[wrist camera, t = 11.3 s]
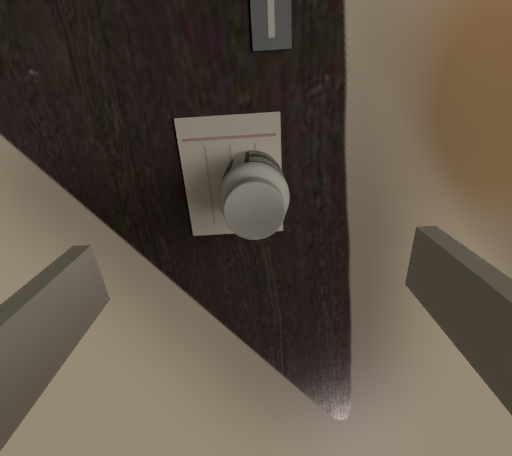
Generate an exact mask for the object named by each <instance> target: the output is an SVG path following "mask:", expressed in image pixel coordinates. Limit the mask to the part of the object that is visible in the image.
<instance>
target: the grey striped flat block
mask: <svg viewBox="0 0 512 456" xmlns="http://www.w3.org/2000/svg"><path fill="white" fill-rule="evenodd" d="M250 7H251V25H252V43H253V52H257V51H272V50H286V49H291V0H250Z"/></svg>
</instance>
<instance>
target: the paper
mask: <svg viewBox="0 0 512 456" xmlns="http://www.w3.org/2000/svg"><path fill="white" fill-rule="evenodd" d="M174 123H175V129H176V135H177V141H178V147H179V153H180V159H181V165H182V171H183V177H184V183H185V189H186V195H187V201H188V207H189V213H190V219H191V225H192V231H193V236H197V235H215V234H233V233H234V232H233V231H232V230H231V229H230V228H229V227H228V225H227V223H226V221H225V219H224V216H223V214H222V212H221V210H220V208H219V204H218V190H219V186H220V183H221V180H222V178H223V175H224V173H225V170H226V168H227V166H228V164H229V163H230V161H231V160H232V159H233V158H234V157H236V156H237V155H238V154H240V153H242V152H245V151H250V150H258V151H262V152H265V153H267V154H269V155H270V156H272V157H273V158H274V159H275V160H276V162H277V163H278V165H279V166H280V169H281V127H280V112H266V113H251V114H235V115H220V116H204V117H189V118H174ZM281 171H282V170H281ZM277 231H283V223H282V224H281V226H280V228H279V229H278V230H277Z"/></svg>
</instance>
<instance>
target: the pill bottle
mask: <svg viewBox="0 0 512 456" xmlns="http://www.w3.org/2000/svg"><path fill="white" fill-rule="evenodd" d="M218 204H219V208H220V210H221V212H222V214H223V216H224V219H225V221H226V223H227V225H228V227H229V228H230V229H231V230H232V231H233V232H234V233H235V234H237V235H238V236H240V237H242V238H245V239H250V240H259V239H263V238H266V237H269V236H270V235H272V234H273V233H275V232H276V231H277V230H278V229H279V228H280V226H281V224H282V223H283V220H284V217H285V213H286V211H287V209H288V205H289V189H288V185H287V182H286V180H285V178H284V176H283V174H282V171H281V169H280V166H279V165H278V163H277V162H276V160H275V159H274V158H273V157H272V156H270V155H269V154H267V153H265V152H262V151H258V150H250V151H245V152H242V153H240V154H238V155H237V156H236V157H234V158H233V159H232V160H231V161H230V163H229V164H228V166H227V168H226V170H225V173H224V175H223V178H222V180H221V183H220V186H219V190H218Z"/></svg>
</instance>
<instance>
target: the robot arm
mask: <svg viewBox="0 0 512 456" xmlns="http://www.w3.org/2000/svg"><path fill="white" fill-rule="evenodd" d="M405 284H406V286H407V287H408V288H409V289H410V291H411V292H412V293H413V294H414V295H415V297H416V298H417V299H418V300H419V302H420V303H421V304H422V305H423V307H424V308H425V309H426V310H427V311H428V313H429V314H430V315H431V316H432V317H433V319H434V320H435V321H436V323H437V324H438V325H439V326H440V327H441V329H442V330H443V331H444V332H445V334H446V335H447V336H448V337H449V338H450V340H451V341H452V342H453V343H454V345H455V346H456V347H457V348H458V350H459V351H460V352H461V353H462V354H463V356H464V357H465V358H466V359H467V361H468V362H469V363H470V364H471V366H472V367H473V368H474V369H475V370H476V372H477V373H478V374H479V375H480V376H481V378H482V379H483V380H484V382H485V383H486V384H487V385H488V386H489V388H490V389H491V390H492V391H493V393H494V394H495V395H496V396H497V397H498V399H499V400H500V401H501V402H502V404H503V405H504V406H505V407H506V409H507V410H508V411H509V412H510V414H511V415H512V279H511V278H509V277H508V276H506V275H505V274H503V273H502V272H501V271H499V270H498V269H496V268H495V267H493V266H492V265H491V264H489V263H488V262H486V261H485V260H484V259H482V258H481V257H479V256H478V255H477V254H475V253H474V252H472V251H471V250H469V249H468V248H467V247H465V246H464V245H462V244H461V243H459V242H458V241H457V240H455V239H454V238H452V237H451V236H449V235H448V234H447V233H445V232H444V231H442V230H441V229H439V228H438V227H437V226H424V227H416V231H415V237H414V242H413V247H412V252H411V257H410V262H409V267H408V273H407V278H406V283H405ZM109 300H110V298H109V295H108V293H107V290H106V287H105V284H104V281H103V278H102V275H101V273H100V270H99V266H98V263H97V260H96V258H95V255H94V252H93V249H92V246H91V245H84V246H72V247H71V248H70V249H69V250H67V251H66V252H65V253H64V254H63V255H61V256H60V257H59V258H58V259H56V260H55V261H54V262H53V263H51V264H50V265H49V266H48V267H46V268H45V269H44V270H43V271H42V272H40V273H39V274H38V275H37V276H35V277H34V278H33V279H32V280H31V281H29V282H28V283H27V284H25V285H24V286H23V287H22V288H21V289H19V290H18V291H17V292H16V293H14V294H13V295H12V296H11V297H9V298H8V299H7V300H6V301H5V302H3V303H2V304H1V305H0V451H1V450H2V448H3V447H4V445H5V444H6V443H7V441H8V440H9V439H10V437H11V436H12V434H13V433H14V432H15V430H16V429H17V427H18V426H19V425H20V423H21V422H22V420H23V419H24V418H25V416H26V415H27V414H28V412H29V411H30V409H31V408H32V407H33V405H34V404H35V402H36V401H37V399H38V398H39V397H40V396H41V394H42V393H43V391H44V390H45V389H46V387H47V386H48V384H49V383H50V381H51V380H52V379H53V377H54V376H55V375H56V373H57V372H58V370H59V369H60V368H61V366H62V365H63V364H64V362H65V361H66V359H67V358H68V357H69V355H70V354H71V352H72V351H73V350H74V348H75V347H76V346H77V344H78V343H79V341H80V340H81V339H82V337H83V336H84V334H85V333H86V332H87V330H88V329H89V327H90V326H91V325H92V323H93V322H94V321H95V319H96V318H97V316H98V315H99V314H100V312H101V311H102V310H103V308H104V307H105V305H106V304H107V303H108V301H109Z"/></svg>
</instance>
